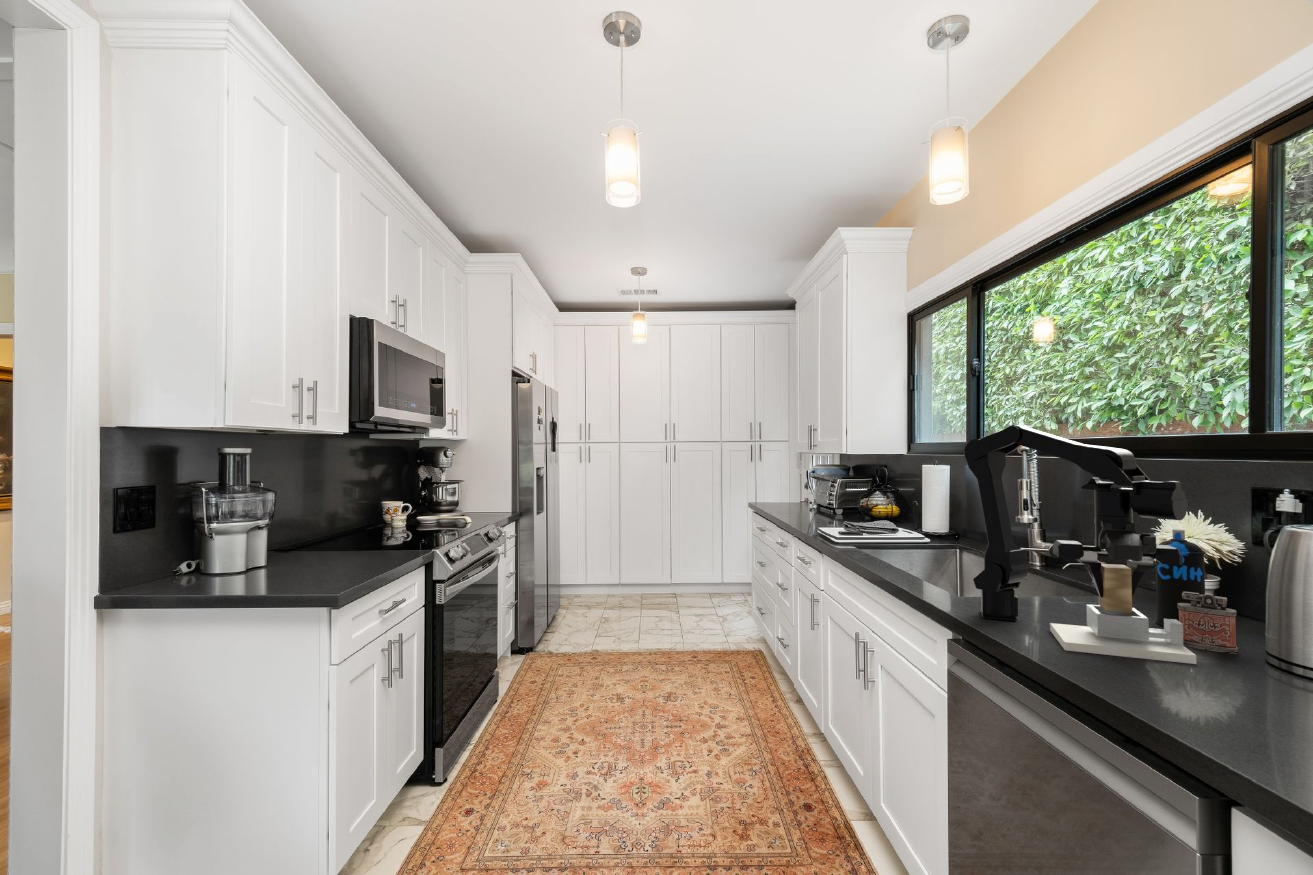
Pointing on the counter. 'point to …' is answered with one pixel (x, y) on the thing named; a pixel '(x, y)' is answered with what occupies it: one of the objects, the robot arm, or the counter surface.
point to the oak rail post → (1116, 588)
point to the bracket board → (1118, 645)
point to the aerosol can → (1179, 577)
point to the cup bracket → (1131, 625)
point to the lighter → (1208, 623)
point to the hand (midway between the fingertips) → (1115, 597)
